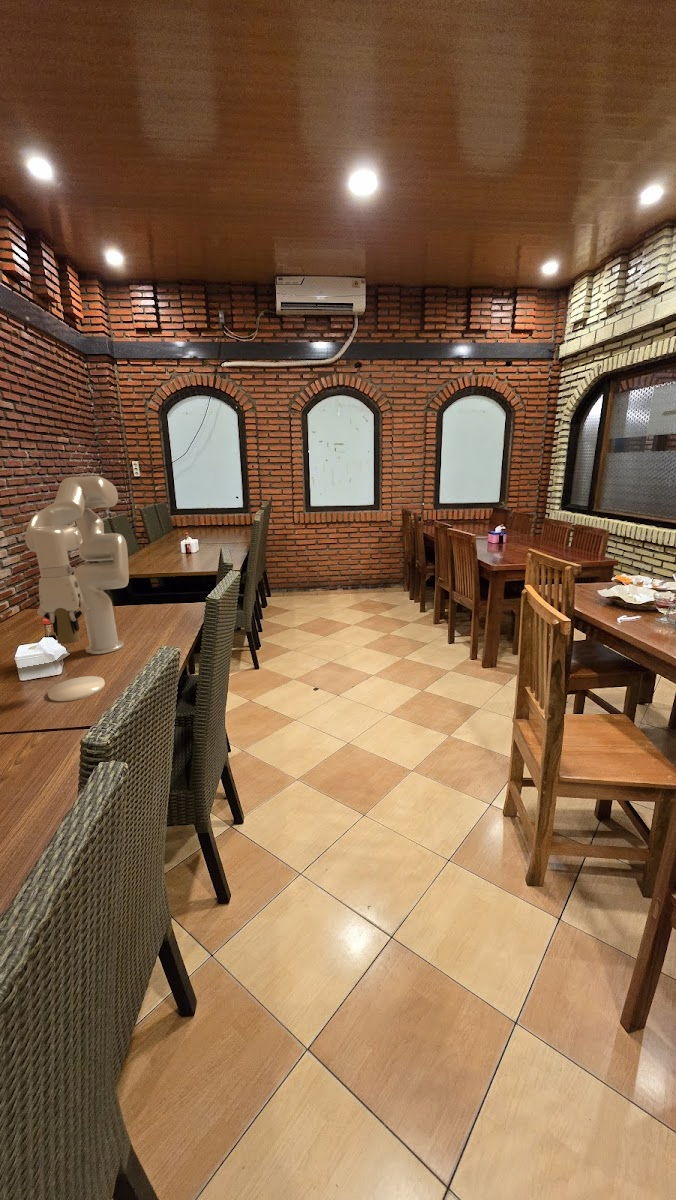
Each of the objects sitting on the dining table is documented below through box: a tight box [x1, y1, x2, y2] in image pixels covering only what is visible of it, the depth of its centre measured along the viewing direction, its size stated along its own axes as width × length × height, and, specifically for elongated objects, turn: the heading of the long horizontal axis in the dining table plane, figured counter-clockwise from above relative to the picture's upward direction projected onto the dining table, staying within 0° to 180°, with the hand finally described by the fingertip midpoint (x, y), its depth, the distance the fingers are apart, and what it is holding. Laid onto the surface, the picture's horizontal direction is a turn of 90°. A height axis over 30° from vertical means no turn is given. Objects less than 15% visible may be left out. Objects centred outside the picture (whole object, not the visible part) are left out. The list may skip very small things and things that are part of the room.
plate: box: [47, 675, 106, 702], centre depth 142 cm, size 15×15×1 cm
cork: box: [53, 608, 81, 645], centre depth 140 cm, size 6×6×11 cm
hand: (67, 633), depth 141 cm, fingers closed on cork, 3 cm apart
